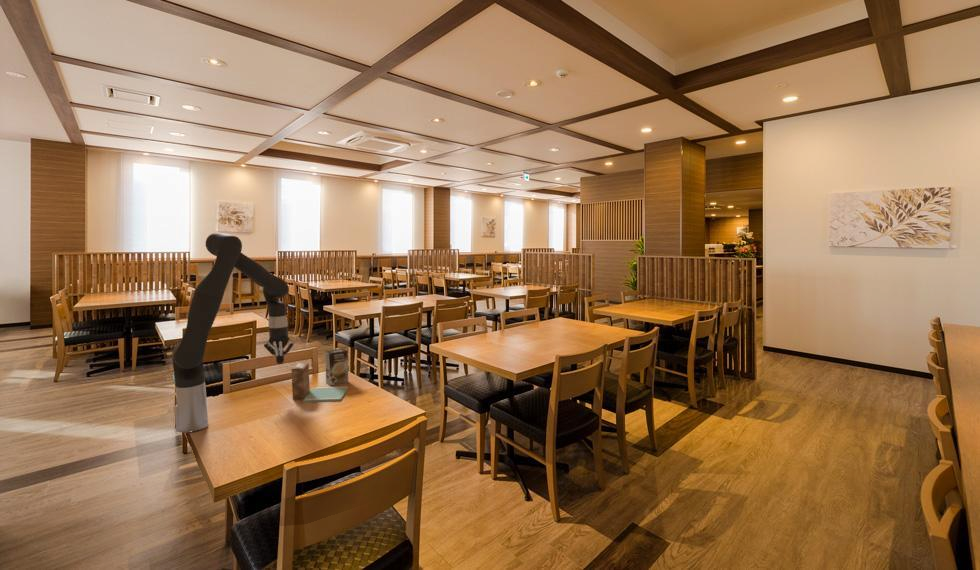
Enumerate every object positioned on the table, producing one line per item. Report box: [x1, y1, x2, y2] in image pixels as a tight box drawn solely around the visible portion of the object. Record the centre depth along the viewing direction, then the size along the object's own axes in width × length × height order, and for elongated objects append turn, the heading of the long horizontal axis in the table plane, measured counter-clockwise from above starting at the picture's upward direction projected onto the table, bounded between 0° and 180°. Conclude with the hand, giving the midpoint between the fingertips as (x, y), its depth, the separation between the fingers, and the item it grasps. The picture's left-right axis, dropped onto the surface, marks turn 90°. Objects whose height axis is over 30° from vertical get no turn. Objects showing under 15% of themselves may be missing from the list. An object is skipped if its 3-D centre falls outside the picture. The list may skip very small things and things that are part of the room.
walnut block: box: [291, 362, 311, 400], centre depth 196 cm, size 5×8×14 cm, turn 7°
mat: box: [302, 386, 349, 403], centre depth 198 cm, size 16×16×1 cm
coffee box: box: [325, 348, 349, 387], centre depth 214 cm, size 9×6×16 cm
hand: (280, 363), depth 194 cm, fingers closed
